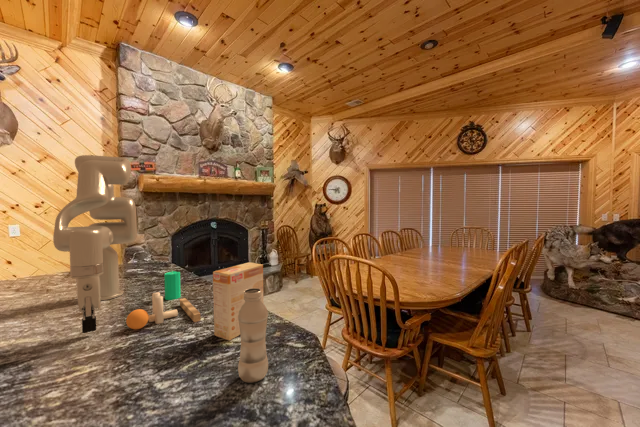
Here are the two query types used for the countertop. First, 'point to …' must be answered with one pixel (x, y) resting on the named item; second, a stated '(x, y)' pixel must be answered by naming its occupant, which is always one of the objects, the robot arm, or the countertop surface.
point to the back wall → (190, 310)
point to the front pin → (164, 315)
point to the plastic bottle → (253, 337)
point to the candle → (172, 285)
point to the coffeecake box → (233, 296)
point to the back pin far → (154, 300)
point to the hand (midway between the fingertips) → (89, 330)
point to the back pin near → (159, 310)
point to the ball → (137, 319)
